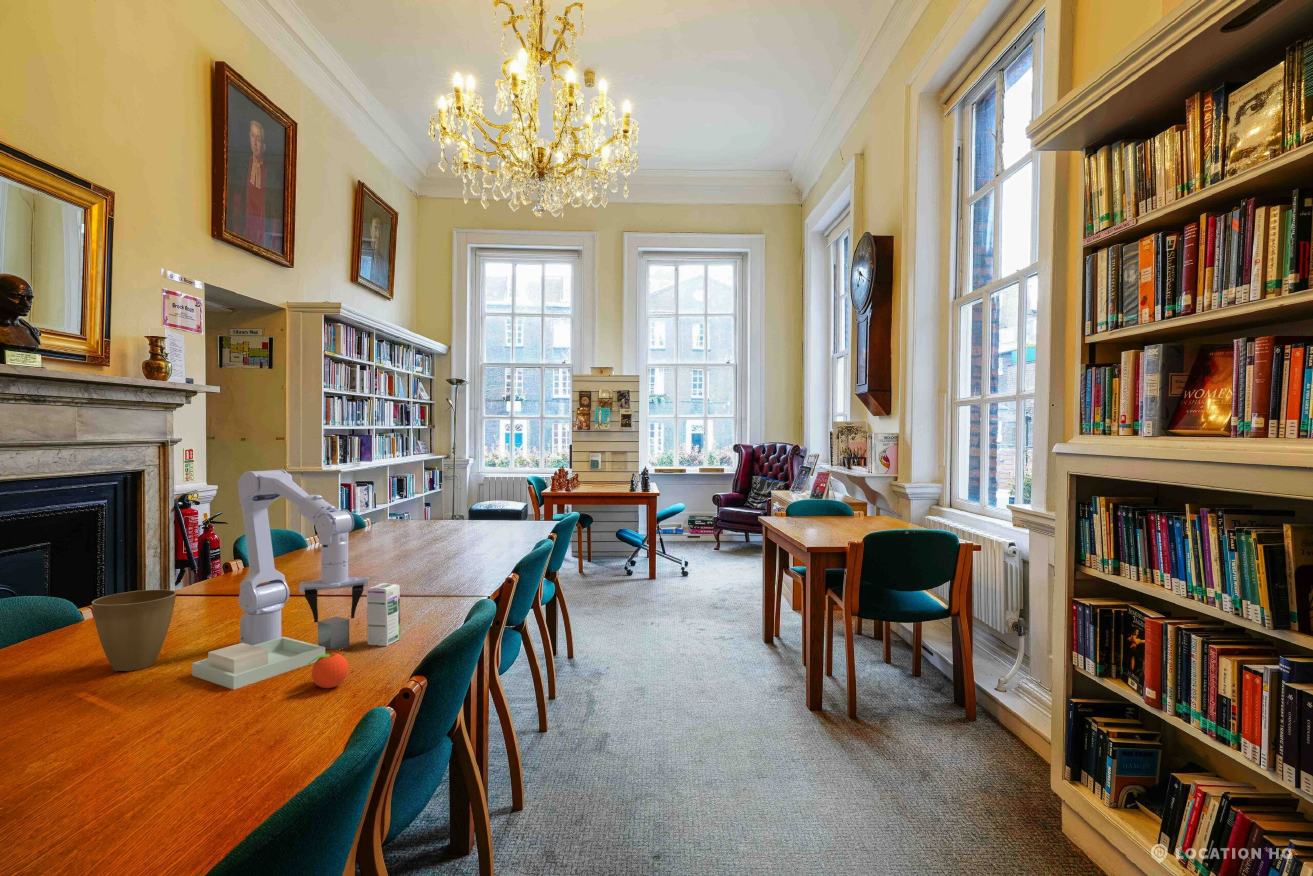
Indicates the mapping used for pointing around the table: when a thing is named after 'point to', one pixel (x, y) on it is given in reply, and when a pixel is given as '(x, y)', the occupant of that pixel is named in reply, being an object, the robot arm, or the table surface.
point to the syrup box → (383, 614)
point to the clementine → (329, 670)
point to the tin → (333, 633)
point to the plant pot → (133, 626)
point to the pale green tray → (280, 660)
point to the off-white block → (238, 658)
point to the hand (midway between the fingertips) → (334, 619)
